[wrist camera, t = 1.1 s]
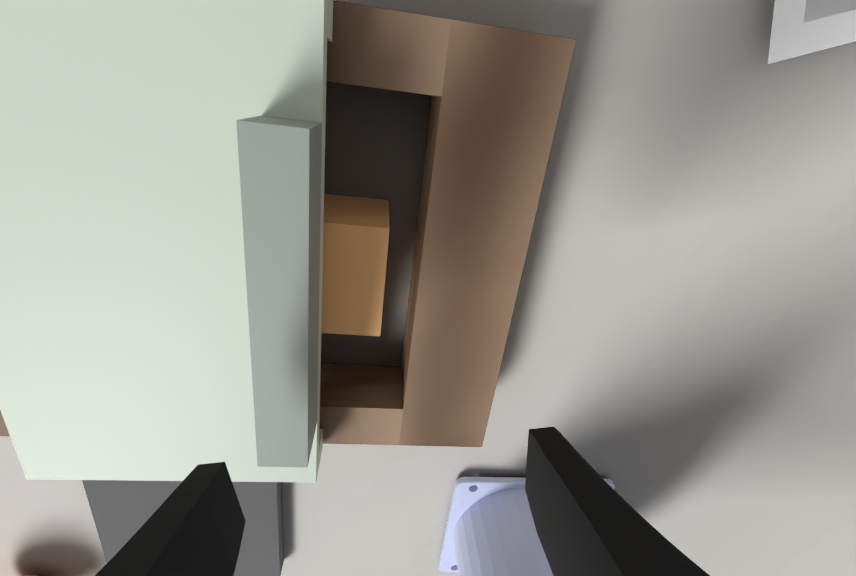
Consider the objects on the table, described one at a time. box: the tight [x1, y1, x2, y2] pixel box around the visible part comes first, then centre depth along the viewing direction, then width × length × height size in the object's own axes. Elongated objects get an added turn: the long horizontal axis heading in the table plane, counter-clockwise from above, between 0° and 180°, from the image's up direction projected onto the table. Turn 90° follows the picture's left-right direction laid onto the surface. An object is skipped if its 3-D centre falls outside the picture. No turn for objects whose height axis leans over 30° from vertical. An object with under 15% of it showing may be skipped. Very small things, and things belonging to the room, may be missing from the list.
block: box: [321, 194, 390, 336], centre depth 16 cm, size 4×4×4 cm
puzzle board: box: [0, 1, 576, 447], centre depth 15 cm, size 28×16×3 cm, turn 83°
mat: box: [82, 480, 284, 576], centre depth 23 cm, size 9×9×1 cm
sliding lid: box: [0, 0, 333, 483], centre depth 12 cm, size 10×16×4 cm, turn 173°
